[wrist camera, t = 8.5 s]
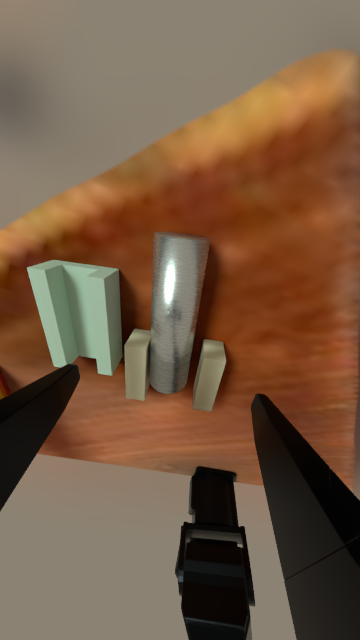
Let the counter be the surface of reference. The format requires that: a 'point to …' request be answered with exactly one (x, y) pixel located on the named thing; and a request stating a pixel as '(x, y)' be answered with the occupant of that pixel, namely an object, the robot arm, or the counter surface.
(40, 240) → the counter surface
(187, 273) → the axle
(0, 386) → the baking soda box
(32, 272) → the v block
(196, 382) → the beam rails
